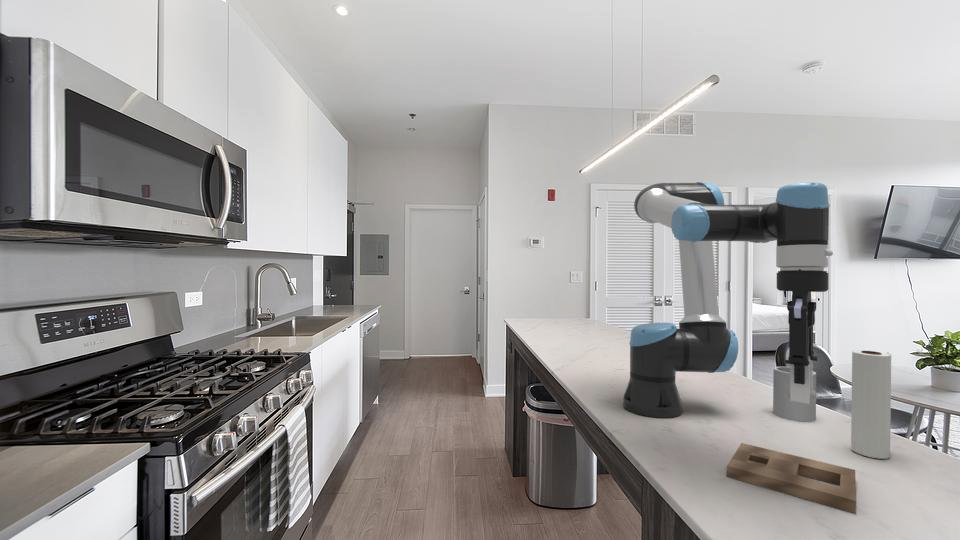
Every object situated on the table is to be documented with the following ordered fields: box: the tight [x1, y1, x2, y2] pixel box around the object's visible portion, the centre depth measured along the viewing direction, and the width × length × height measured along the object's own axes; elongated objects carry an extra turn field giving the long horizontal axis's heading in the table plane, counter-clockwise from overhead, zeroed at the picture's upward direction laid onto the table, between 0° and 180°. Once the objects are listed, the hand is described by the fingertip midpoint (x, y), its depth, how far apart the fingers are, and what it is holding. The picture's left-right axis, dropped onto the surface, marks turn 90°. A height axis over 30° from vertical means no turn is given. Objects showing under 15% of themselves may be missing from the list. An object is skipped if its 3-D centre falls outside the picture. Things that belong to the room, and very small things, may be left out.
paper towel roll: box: [850, 350, 892, 460], centre depth 90 cm, size 7×6×21 cm
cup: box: [772, 366, 817, 423], centre depth 113 cm, size 9×9×12 cm
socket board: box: [726, 442, 857, 514], centre depth 79 cm, size 18×14×2 cm
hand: (801, 398), depth 77 cm, fingers closed on rook chess piece, 4 cm apart
